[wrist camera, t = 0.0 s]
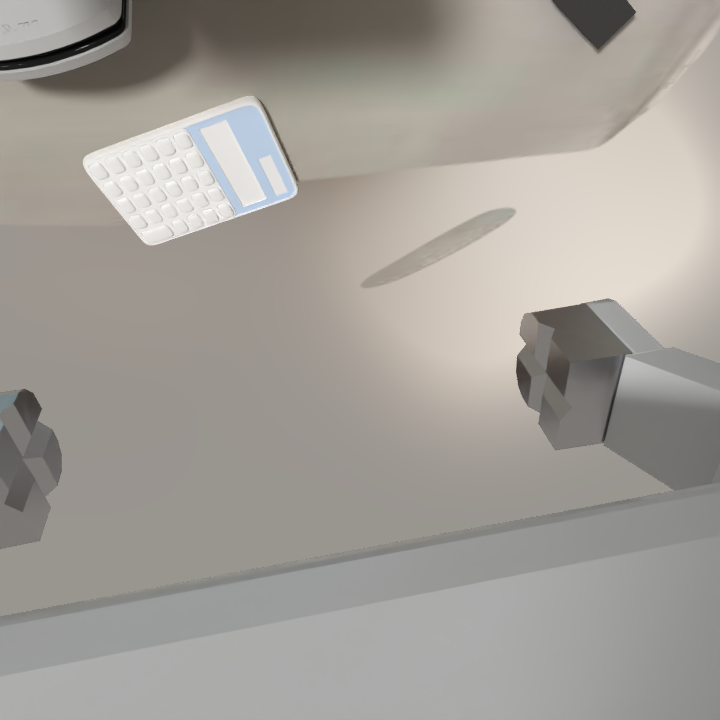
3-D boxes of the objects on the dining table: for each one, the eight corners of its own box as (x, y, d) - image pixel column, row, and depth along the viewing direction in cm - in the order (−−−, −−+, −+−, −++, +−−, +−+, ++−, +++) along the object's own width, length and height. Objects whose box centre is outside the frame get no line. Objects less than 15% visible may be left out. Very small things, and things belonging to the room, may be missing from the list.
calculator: (78, 154, 63) (77, 165, 62) (256, 88, 61) (258, 99, 60) (148, 240, 74) (147, 251, 73) (300, 187, 72) (302, 198, 70)
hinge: (109, -93, 46) (123, 11, 44) (133, -38, 51) (147, 59, 48) (-107, -51, 46) (-105, 56, 43) (-62, 0, 50) (-59, 100, 48)
